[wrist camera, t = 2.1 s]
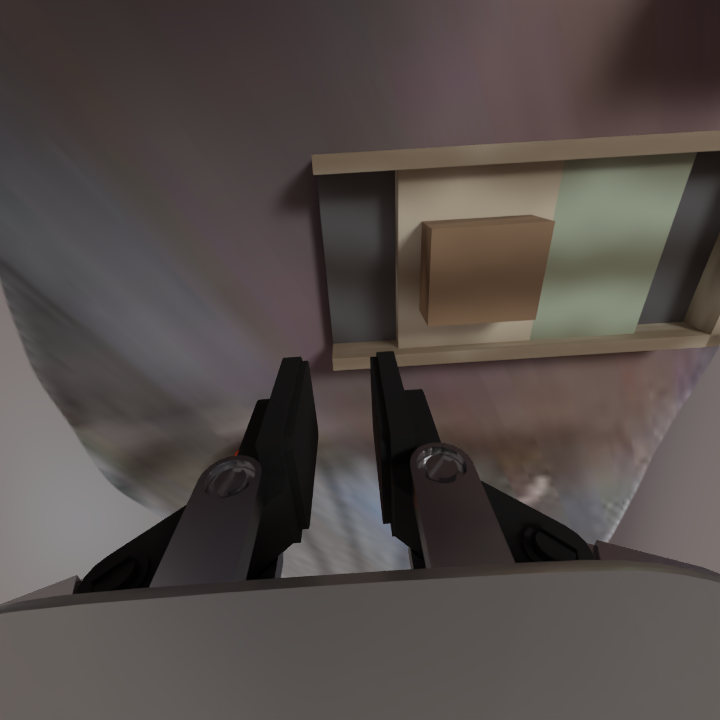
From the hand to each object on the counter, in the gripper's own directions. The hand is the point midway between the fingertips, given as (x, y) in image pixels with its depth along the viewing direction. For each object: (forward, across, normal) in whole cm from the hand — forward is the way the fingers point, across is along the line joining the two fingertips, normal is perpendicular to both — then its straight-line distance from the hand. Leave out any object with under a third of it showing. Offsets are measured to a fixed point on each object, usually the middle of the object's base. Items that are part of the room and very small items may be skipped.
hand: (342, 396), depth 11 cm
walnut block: (+15, -9, 0) cm, 17 cm away
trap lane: (+17, -13, 0) cm, 22 cm away
